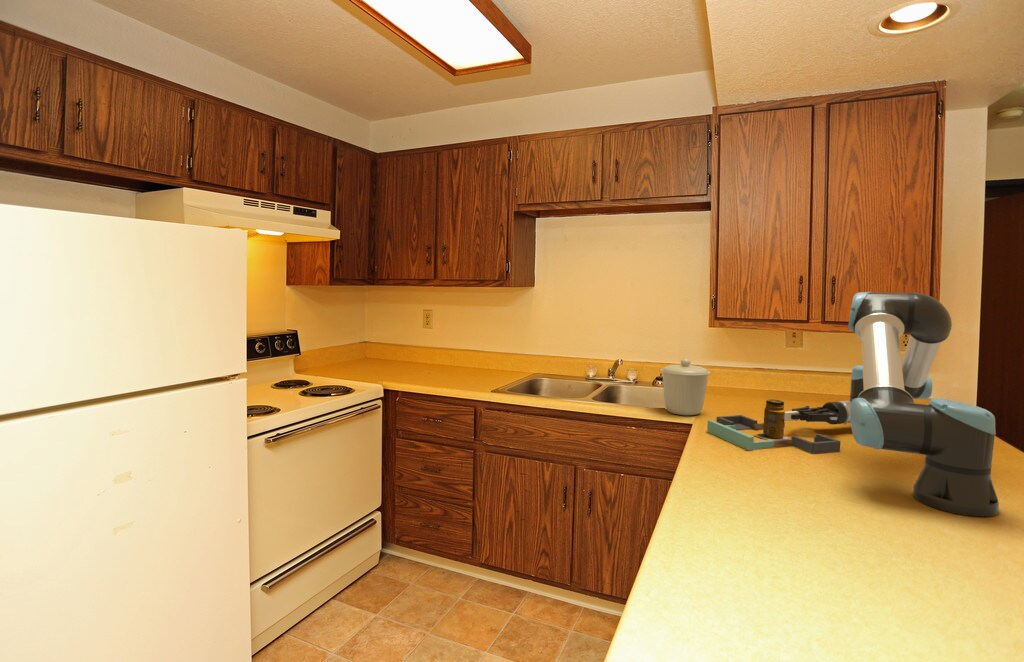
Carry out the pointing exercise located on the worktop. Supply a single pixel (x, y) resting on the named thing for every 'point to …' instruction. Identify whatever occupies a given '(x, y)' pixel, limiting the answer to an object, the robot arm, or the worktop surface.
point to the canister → (684, 388)
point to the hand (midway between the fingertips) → (780, 416)
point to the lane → (777, 442)
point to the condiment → (773, 421)
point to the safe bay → (736, 436)
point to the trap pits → (818, 446)
